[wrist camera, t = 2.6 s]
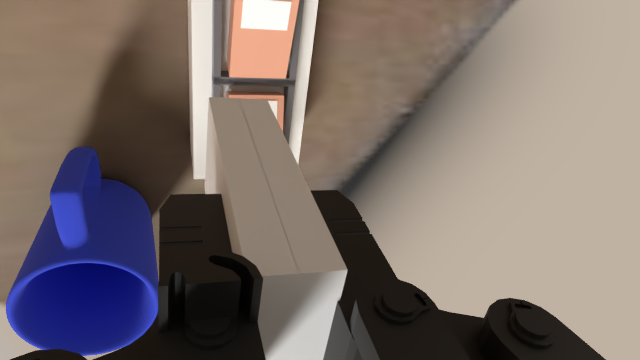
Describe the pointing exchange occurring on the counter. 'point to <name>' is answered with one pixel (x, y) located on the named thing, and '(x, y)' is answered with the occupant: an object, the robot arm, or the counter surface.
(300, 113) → the white rack
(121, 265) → the mug
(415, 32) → the counter surface
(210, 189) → the robot arm
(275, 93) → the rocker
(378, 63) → the counter surface
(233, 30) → the block
